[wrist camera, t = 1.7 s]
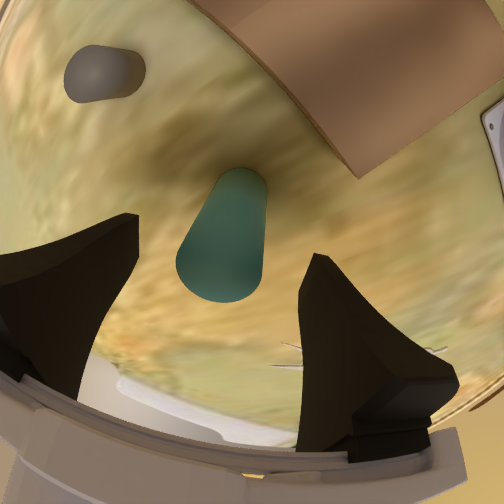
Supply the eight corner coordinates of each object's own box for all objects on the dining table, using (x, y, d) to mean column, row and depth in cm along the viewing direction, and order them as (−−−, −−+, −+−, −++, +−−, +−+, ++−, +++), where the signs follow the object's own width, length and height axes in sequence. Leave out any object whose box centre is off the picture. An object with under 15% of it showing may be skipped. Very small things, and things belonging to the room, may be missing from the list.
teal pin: (277, 196, 17) (280, 276, 10) (239, 225, 18) (218, 313, 11) (242, 157, 15) (217, 213, 9) (205, 190, 17) (159, 263, 10)
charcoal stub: (155, 69, 13) (122, 65, 9) (122, 107, 14) (85, 115, 11) (125, 41, 11) (88, 34, 8) (94, 79, 13) (55, 82, 9)
